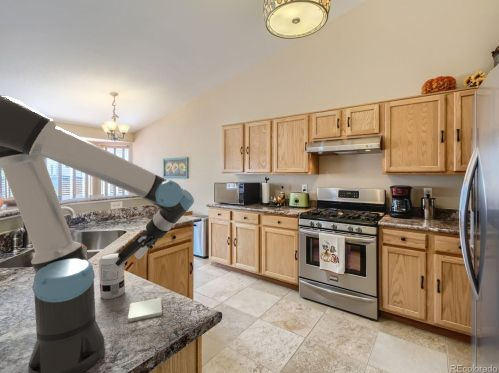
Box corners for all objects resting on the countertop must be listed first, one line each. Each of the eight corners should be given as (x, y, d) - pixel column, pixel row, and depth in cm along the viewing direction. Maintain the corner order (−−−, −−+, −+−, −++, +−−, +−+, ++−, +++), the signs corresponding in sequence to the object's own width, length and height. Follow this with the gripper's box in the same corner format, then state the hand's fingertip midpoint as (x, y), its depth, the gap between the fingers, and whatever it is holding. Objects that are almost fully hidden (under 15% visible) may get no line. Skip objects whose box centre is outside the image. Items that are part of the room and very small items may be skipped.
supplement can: (95, 297, 93) (93, 257, 92) (116, 288, 100) (114, 251, 100) (109, 302, 89) (107, 260, 89) (129, 292, 97) (128, 254, 96)
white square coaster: (162, 314, 81) (162, 311, 80) (127, 321, 77) (127, 318, 77) (161, 300, 90) (161, 297, 90) (130, 306, 86) (130, 303, 86)
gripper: (148, 240, 79) (108, 284, 82) (182, 224, 103) (150, 259, 107) (132, 223, 79) (93, 268, 83) (170, 211, 104) (138, 246, 107)
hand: (125, 263), depth 95 cm, fingers open, 13 cm apart
